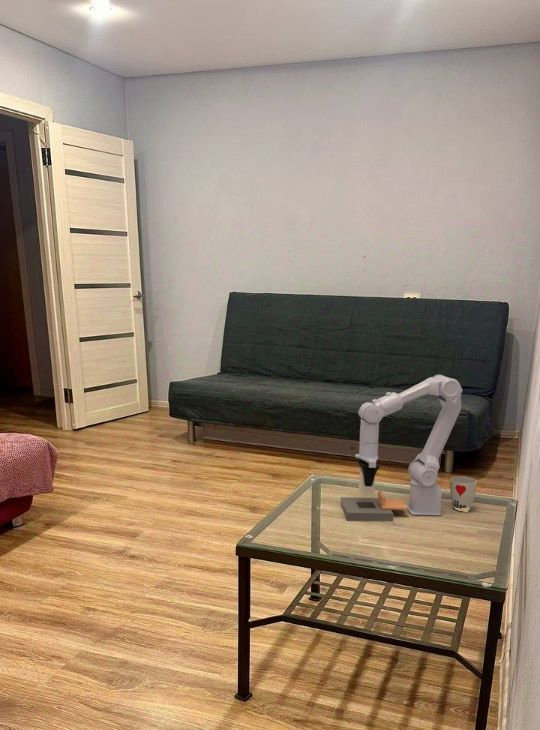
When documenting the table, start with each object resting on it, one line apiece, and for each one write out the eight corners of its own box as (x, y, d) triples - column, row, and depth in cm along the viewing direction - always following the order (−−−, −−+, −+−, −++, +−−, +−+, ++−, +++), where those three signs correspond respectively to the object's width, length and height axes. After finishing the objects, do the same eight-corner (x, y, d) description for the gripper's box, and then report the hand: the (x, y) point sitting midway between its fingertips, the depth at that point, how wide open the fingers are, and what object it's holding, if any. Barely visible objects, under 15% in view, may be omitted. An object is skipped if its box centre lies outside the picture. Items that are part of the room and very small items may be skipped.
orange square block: (401, 500, 192) (402, 490, 191) (408, 509, 184) (408, 498, 183) (377, 500, 191) (377, 489, 191) (382, 509, 184) (383, 498, 183)
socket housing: (383, 505, 195) (383, 497, 195) (392, 521, 181) (393, 513, 181) (340, 504, 194) (340, 497, 194) (347, 520, 181) (347, 512, 180)
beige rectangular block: (371, 491, 189) (372, 466, 188) (373, 495, 185) (375, 470, 184) (359, 491, 189) (360, 466, 188) (361, 495, 185) (362, 470, 184)
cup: (443, 507, 194) (445, 477, 193) (461, 503, 198) (462, 474, 197) (462, 515, 187) (464, 485, 186) (480, 511, 191) (482, 481, 190)
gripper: (352, 435, 192) (350, 476, 194) (360, 447, 178) (358, 491, 179) (374, 436, 192) (372, 476, 194) (383, 447, 178) (381, 491, 180)
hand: (367, 483), depth 187 cm, fingers closed on beige rectangular block, 4 cm apart
